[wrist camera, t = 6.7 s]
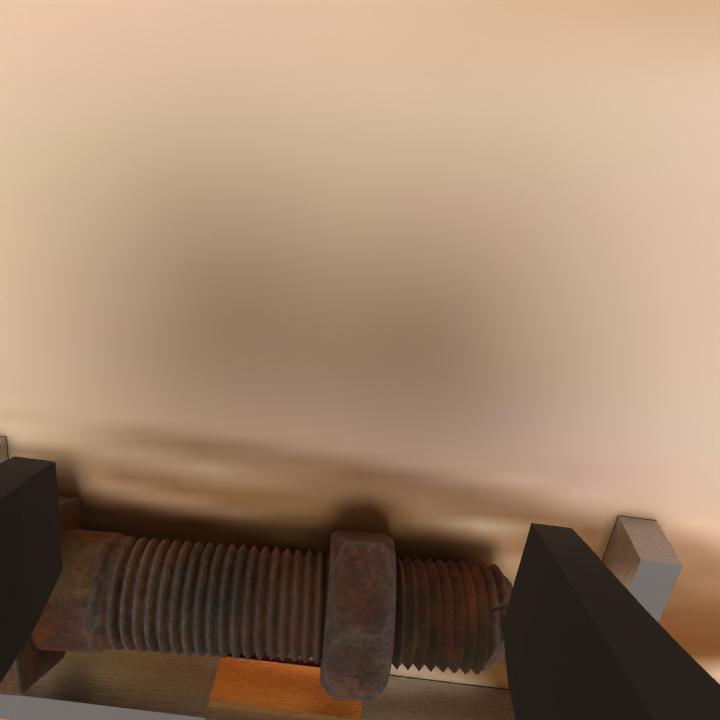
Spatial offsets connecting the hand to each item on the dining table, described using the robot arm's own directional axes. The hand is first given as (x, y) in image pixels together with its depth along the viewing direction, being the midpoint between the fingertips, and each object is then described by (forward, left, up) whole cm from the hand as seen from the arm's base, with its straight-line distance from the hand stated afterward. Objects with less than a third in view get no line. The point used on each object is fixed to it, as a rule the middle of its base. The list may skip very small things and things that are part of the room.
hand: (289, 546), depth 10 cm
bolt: (-8, +1, -10) cm, 13 cm away
